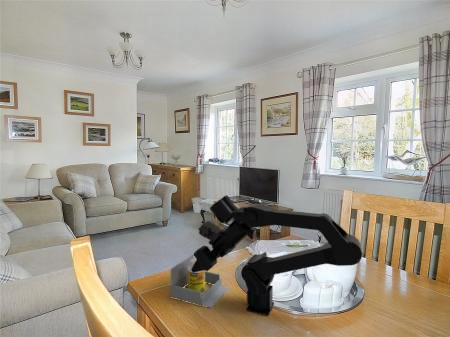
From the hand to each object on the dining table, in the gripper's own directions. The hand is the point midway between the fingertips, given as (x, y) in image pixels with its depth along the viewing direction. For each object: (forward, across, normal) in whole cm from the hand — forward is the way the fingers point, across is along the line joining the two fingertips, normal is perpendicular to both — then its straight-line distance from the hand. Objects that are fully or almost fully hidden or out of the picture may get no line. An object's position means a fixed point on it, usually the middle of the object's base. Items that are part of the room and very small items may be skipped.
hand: (199, 265), depth 84 cm
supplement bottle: (+7, 0, +6) cm, 9 cm away
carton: (+6, 0, +7) cm, 9 cm away
